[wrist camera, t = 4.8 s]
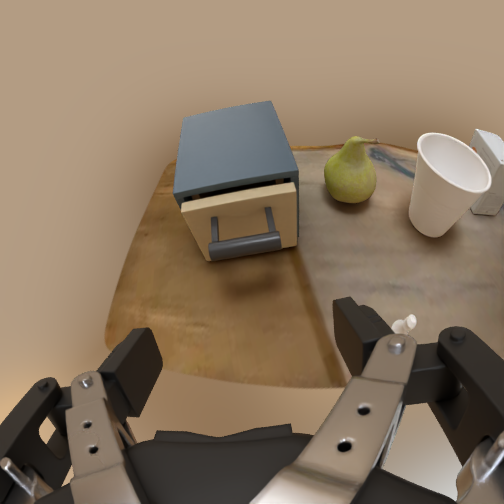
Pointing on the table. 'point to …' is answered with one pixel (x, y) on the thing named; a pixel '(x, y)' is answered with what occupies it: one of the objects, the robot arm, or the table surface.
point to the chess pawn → (404, 325)
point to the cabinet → (233, 151)
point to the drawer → (243, 219)
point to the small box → (500, 167)
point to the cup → (445, 183)
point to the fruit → (351, 172)
